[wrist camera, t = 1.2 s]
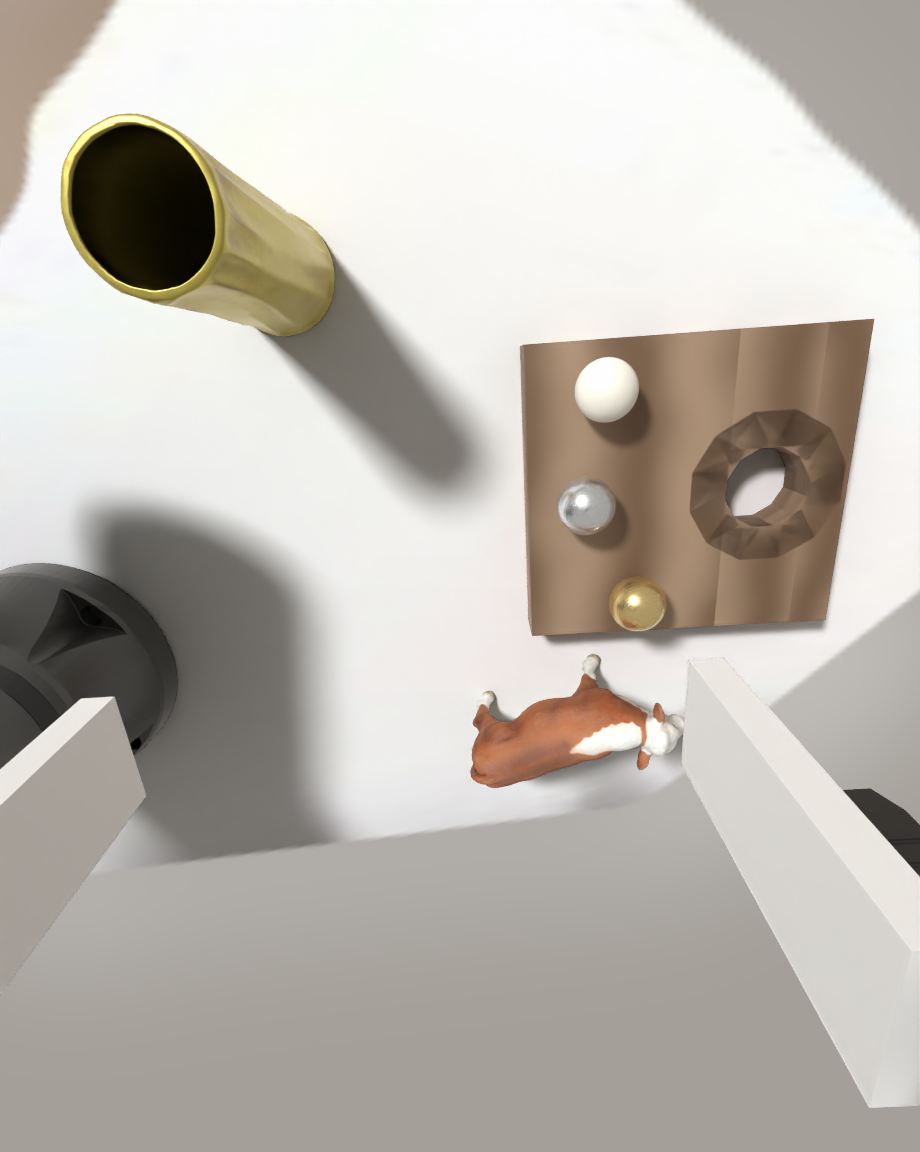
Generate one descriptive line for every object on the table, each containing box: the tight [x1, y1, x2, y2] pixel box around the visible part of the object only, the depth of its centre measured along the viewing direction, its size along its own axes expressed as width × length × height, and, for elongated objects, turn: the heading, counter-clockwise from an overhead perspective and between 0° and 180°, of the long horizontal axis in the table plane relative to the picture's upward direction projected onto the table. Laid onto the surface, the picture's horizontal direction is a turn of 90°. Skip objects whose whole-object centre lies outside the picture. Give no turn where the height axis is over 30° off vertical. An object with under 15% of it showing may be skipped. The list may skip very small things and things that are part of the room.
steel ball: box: [557, 477, 616, 535], centre depth 32 cm, size 3×3×3 cm
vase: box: [61, 114, 335, 336], centre depth 25 cm, size 6×6×14 cm
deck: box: [520, 319, 874, 636], centre depth 34 cm, size 18×17×2 cm
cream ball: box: [575, 357, 639, 423], centre depth 30 cm, size 3×3×3 cm
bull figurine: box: [470, 654, 684, 788], centre depth 37 cm, size 4×13×8 cm, turn 108°
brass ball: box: [609, 576, 666, 631], centre depth 34 cm, size 3×3×3 cm
